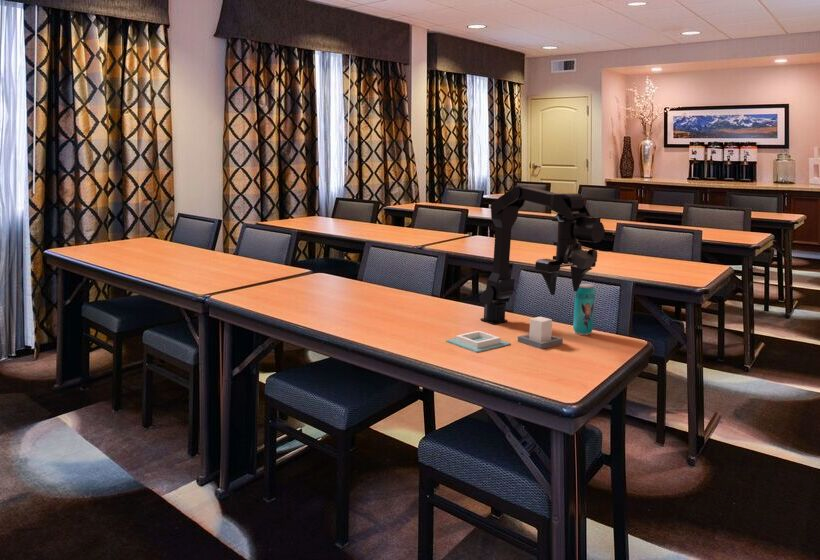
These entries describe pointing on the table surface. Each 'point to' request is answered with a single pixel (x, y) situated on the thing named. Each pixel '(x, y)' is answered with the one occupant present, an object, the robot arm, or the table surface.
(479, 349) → the socket
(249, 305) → the table surface
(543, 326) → the plug block
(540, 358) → the table surface
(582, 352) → the table surface
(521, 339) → the socket
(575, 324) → the beverage can
